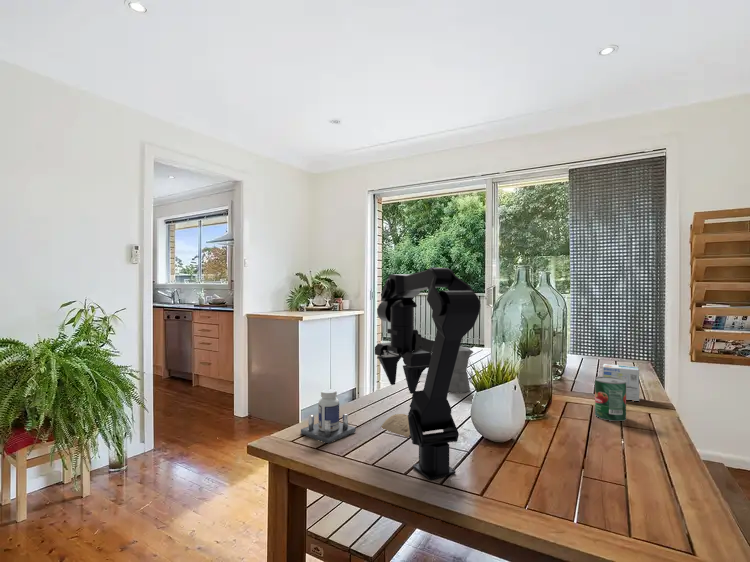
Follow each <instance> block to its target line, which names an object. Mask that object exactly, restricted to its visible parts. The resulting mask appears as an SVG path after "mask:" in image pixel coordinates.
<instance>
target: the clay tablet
mask: <svg viewBox="0 0 750 562" xmlns="http://www.w3.org/2000/svg"><path fill="white" fill-rule="evenodd" d="M381 427H382V428H383V429H386V430H385V431H387V430H388V431H387V432H390V431H391V432H390V433H393V434H397V435H400V436H402V437H403V436H404V437H405V438H409V436H410V429H409V422H408V414H405V413H397V414H392V415H390V416H389V417H388V418H386V419H385V421H384V422H383V423H382V425H381V426H380V428H381ZM383 429H382V430H383Z"/></svg>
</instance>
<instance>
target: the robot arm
mask: <svg viewBox="0 0 750 562" xmlns="http://www.w3.org/2000/svg"><path fill="white" fill-rule="evenodd" d="M437 288H438V289H439V288H446V289H447V290H440V291H438V289H437ZM427 290H428V293H427V297H426V301H427V303H428V305H429V306H430V308H431V318H432V320H433V323H434V325H435V328H436V334H435V338H434V340H431V339H428V338H425V337H422V334H421V333H419V330H418V329H415V308H417V307H418V305H417V302H415V301H414V298H415V297H417V296H418V295H420V294H421V291H427ZM380 300H381V302H380V303H379V304H378V306H377V309H376V314H377V316H378V318H379V319H380V321H383V322H386V323H390V328H387V329H386V330H387V334H389V335H390V342H382V343H376V345H375V346H374V355H375V356H376V359H377V360H379V363H380V364H381V367H382V369H383V370H384V372H385V375H386V377H387V379H388V381H389V384H390V385H391V386H395V385H396V381H397V370H398V363H399V361H401V359H402V361H403V365H402V368H403V373H404V376H405V380H406V383H407V387H408V391H409V394H411V402H410V404H409V411H408V414H407V415H408V422H409V429H410V435H409V436H410V439H411V441H412V442H411V444H412V445H416V446H418V463H414V464H413V469H414V470H416V471H417V472H419V473H420V474H422V475H423V476H424V477H426V478H427V479H428V480H431V481H432V480H435V479H439V478H443V477H447V476H450V475H453V474H456V470H455V469H454V468H453V467H451V466H450V443H457V442H458V440H459V436H460V434H459V433H460V432H459V431H458V428H457V426H456V423H455V420H454V419H453V418H454V417H453V416H452V406H451V404H450V402H449V400H448V393H449V387H450V383H451V379H452V375H453V371H454V368H455V364H456V360H457V356H458V352H459V348H460V346H461V344H462V341H463V340H462V339H463V338H464V337H465V336H466V334H468V333H469V332H470V331H471V330H472V329H473V328H474V326H475V325H476V322H477V319H478V318H479V315H480V311H481V305H482V303H481V300H480V298H479V297H478V295H477V293H476V292H475V291H474V289H473V288H472V287H471V285H469V284H468V283H467V282H466V281H464V280H463V279H461V278H460V277H458V276H457V275H456V274H455V272H454V271H453V270H452V269H450V268H448V267H429V268H427V269H426V270H422V271H419V272H414V273H410V274H408V273H407V274H404V273H403V274H402V273H399V274H396V273H391V274H389V276H388V277H387V279H386V280H385V283H384V286H383V289H382V291H381V293H380ZM426 369H427V373H426V378H425V381H424V382H425V383H424V386H423V389H422V390H417V387H418V384H419V381H420V378H421V376H422V374H423V372H424V371H425V370H426ZM440 430H443V431H440ZM431 431H432V433H426V432H431ZM434 431H438V432H434ZM424 433H425V434H424Z"/></svg>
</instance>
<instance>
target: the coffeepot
mask: <svg viewBox="0 0 750 562" xmlns="http://www.w3.org/2000/svg"><path fill="white" fill-rule="evenodd" d="M473 353H474V351H473V350H471V349H470V348H468V347H465V346H462V345H460V348H459V352H458V356H457V360H456V364H455V368H454V371H453V375H452V379H451V383H450V387H449V391H448V393H449V392H450V393H454V392H459V394H461V393H460V392H465V393H468V392H470V390H471V387H470V381H469V376H468V371H467V368H468V366H469V360H470V357H471V356H472V354H473ZM467 391H468V392H467Z"/></svg>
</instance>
